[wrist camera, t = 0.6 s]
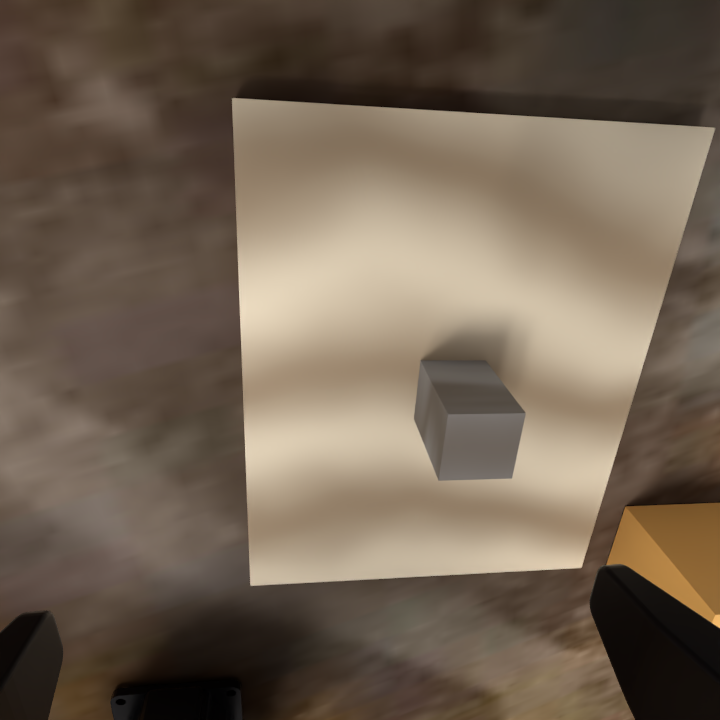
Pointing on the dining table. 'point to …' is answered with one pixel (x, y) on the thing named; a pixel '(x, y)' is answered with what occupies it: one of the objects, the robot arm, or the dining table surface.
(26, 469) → the dining table surface
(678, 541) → the block
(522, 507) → the board
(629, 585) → the robot arm
